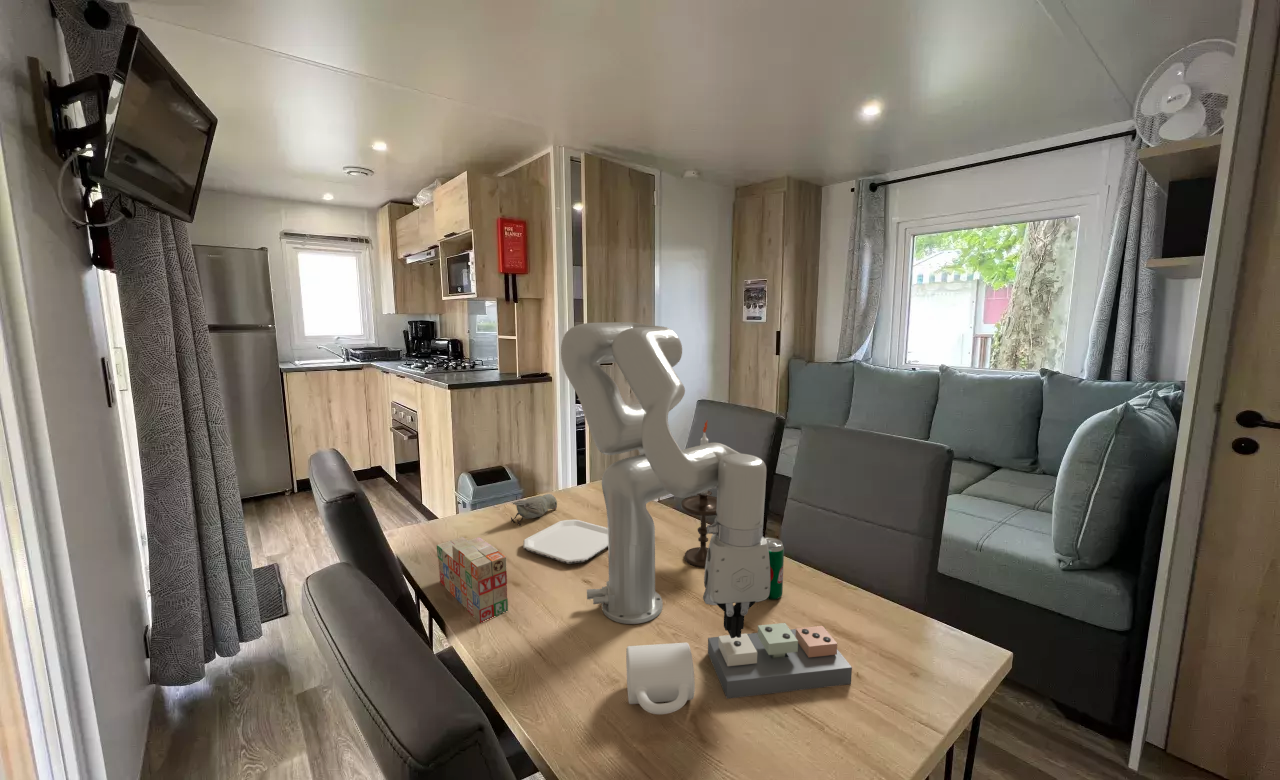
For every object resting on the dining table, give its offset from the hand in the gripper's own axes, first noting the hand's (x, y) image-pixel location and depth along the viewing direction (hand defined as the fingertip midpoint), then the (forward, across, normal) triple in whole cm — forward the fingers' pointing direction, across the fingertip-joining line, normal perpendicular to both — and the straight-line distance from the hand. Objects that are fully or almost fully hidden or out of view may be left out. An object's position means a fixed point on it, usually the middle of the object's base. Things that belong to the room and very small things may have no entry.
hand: (733, 632), depth 86 cm
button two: (+5, +8, -1) cm, 9 cm away
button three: (+6, +15, -1) cm, 16 cm away
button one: (+7, +1, -1) cm, 7 cm away
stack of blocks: (+9, -48, +30) cm, 58 cm away
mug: (+7, -13, -6) cm, 16 cm away
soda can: (+7, +16, +21) cm, 27 cm away
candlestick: (+8, +6, +39) cm, 40 cm away
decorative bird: (+10, -37, +72) cm, 81 cm away
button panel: (+7, +8, -1) cm, 10 cm away
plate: (+10, -26, +52) cm, 59 cm away
